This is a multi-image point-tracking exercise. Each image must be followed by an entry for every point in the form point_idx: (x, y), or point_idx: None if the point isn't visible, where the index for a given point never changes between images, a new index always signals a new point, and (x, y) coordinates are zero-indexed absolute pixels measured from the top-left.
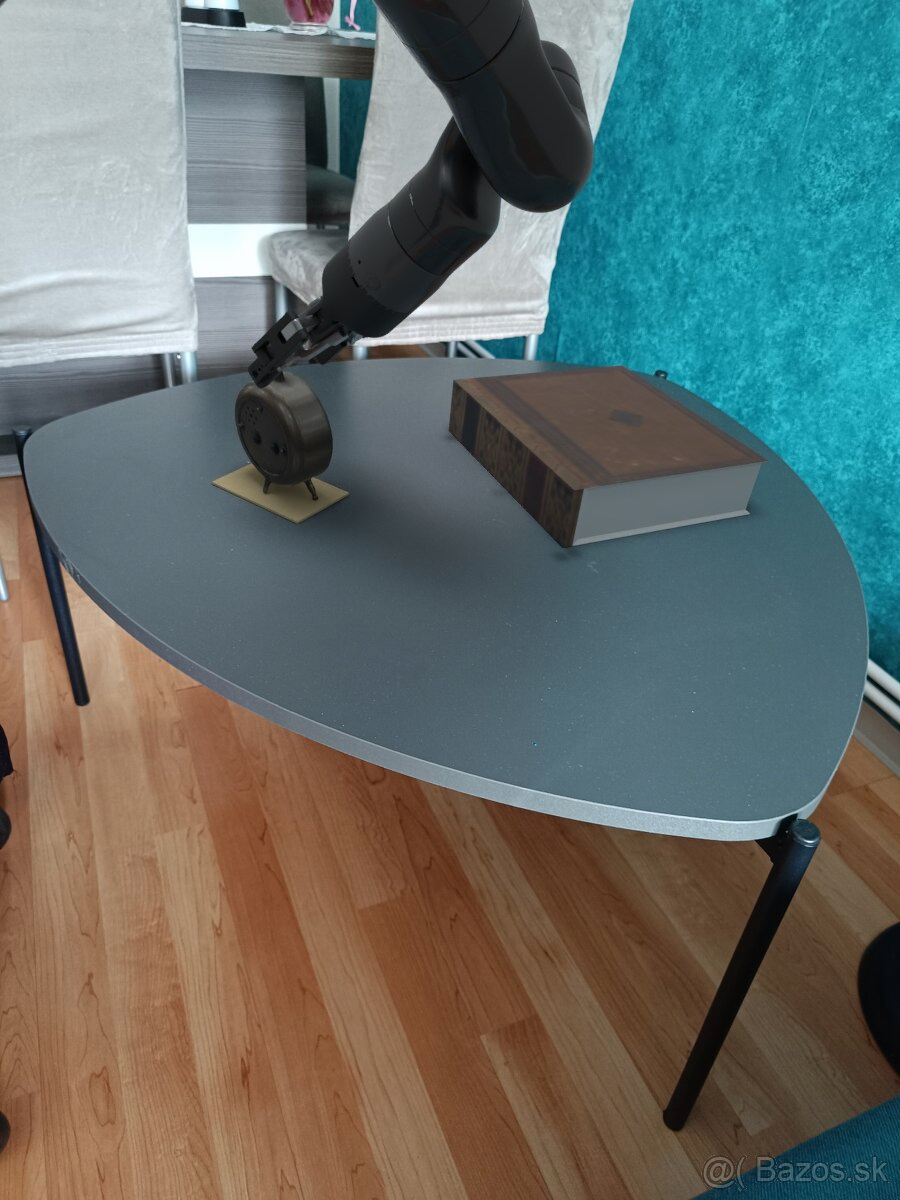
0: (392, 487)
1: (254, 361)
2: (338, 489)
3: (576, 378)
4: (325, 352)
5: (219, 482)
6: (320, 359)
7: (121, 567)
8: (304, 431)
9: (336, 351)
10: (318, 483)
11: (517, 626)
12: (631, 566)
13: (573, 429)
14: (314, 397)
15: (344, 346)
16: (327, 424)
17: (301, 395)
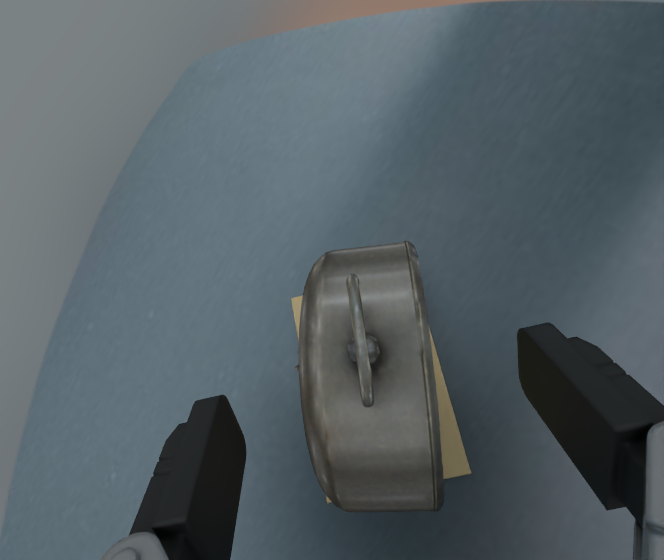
0: (570, 502)
1: (184, 435)
2: (460, 449)
3: None
4: (546, 404)
5: (299, 307)
6: (525, 379)
7: (61, 438)
8: (353, 507)
9: (579, 467)
10: (439, 407)
11: None
12: None
13: None
14: (427, 462)
15: (623, 505)
16: (432, 507)
17: (389, 445)
